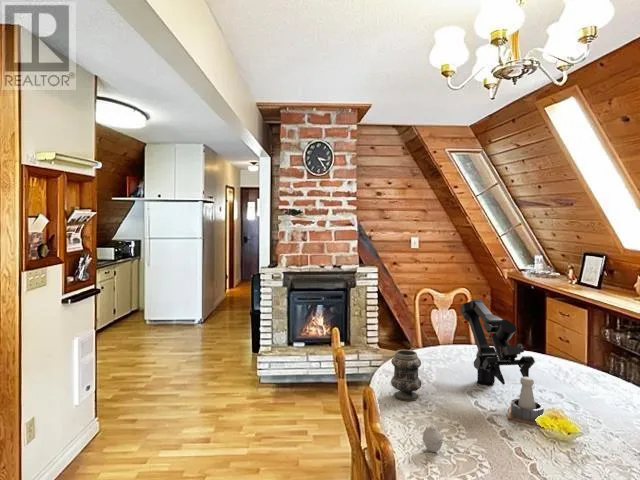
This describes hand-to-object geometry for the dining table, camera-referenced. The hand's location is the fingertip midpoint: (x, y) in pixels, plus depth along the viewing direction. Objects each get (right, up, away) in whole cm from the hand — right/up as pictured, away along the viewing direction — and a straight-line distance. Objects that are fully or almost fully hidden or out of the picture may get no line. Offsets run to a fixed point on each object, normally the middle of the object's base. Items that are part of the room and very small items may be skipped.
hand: (516, 383), depth 161 cm
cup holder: (+1, -9, -8) cm, 12 cm away
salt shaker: (0, -8, -8) cm, 11 cm away
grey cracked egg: (-39, -10, -30) cm, 51 cm away
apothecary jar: (-39, -9, +12) cm, 42 cm away
